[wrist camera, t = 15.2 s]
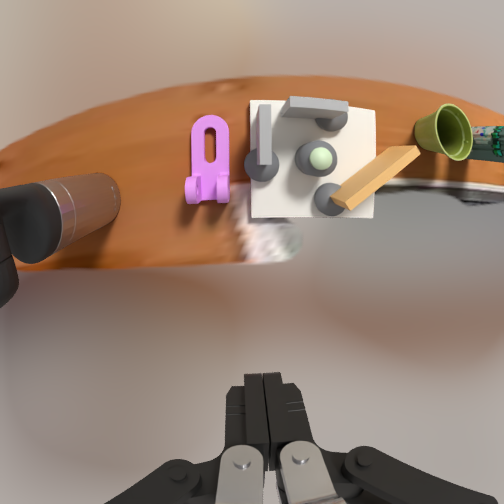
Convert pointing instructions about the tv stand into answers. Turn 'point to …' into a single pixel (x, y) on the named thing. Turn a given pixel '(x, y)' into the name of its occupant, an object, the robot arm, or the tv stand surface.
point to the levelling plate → (304, 187)
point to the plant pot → (445, 132)
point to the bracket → (209, 174)
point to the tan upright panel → (363, 181)
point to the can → (487, 144)
